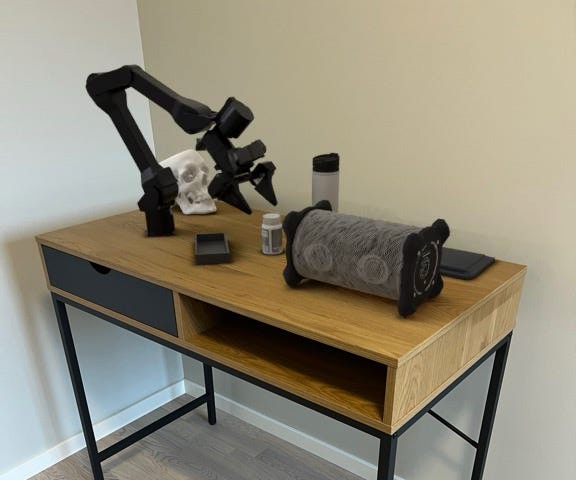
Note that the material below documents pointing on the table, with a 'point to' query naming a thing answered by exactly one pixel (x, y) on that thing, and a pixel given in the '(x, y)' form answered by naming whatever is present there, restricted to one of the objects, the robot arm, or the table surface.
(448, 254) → the wallet
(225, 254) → the pen tray
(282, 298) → the table surface
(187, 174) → the white skull model
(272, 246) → the pill bottle
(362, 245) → the speaker
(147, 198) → the robot arm
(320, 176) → the travel mug
